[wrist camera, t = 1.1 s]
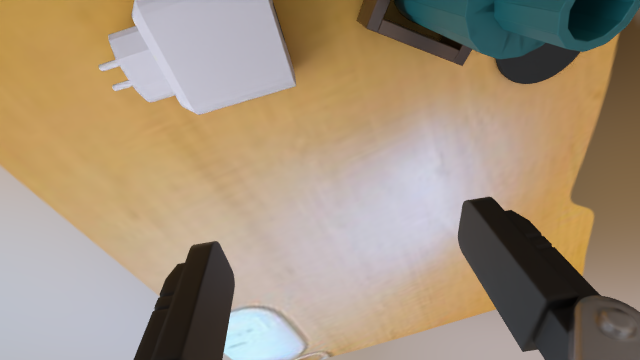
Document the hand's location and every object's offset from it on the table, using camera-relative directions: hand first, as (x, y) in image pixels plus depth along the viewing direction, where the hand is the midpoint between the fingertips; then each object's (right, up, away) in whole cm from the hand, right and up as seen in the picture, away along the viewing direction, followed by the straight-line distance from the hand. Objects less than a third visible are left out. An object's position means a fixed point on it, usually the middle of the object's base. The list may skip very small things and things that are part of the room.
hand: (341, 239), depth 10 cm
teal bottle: (+8, +19, +16) cm, 26 cm away
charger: (-11, +14, +17) cm, 25 cm away
